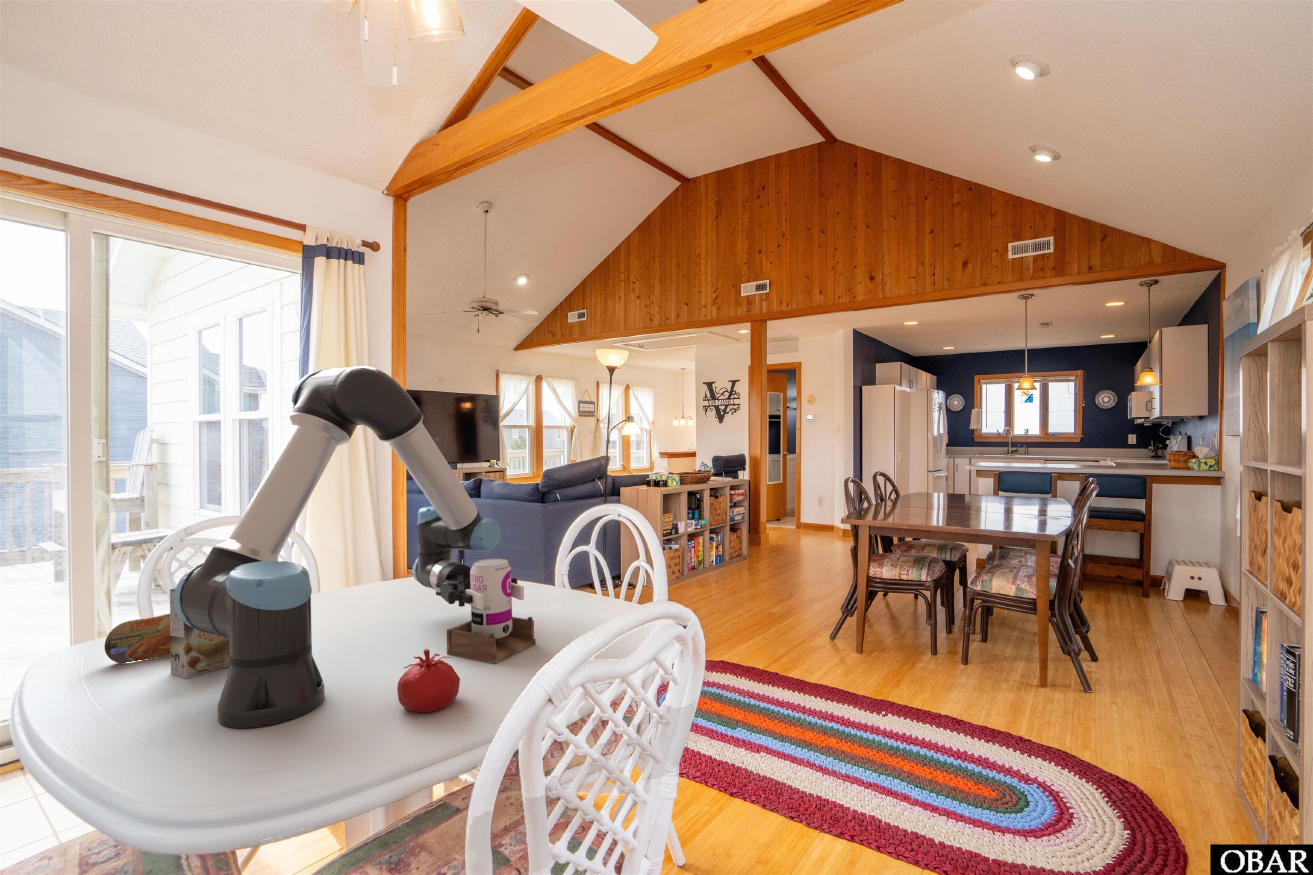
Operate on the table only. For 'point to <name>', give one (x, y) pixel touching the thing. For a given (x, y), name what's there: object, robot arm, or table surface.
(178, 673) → the coffee box
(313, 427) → the robot arm
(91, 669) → the table surface
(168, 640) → the tin
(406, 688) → the red tomato
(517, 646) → the tray
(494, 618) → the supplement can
